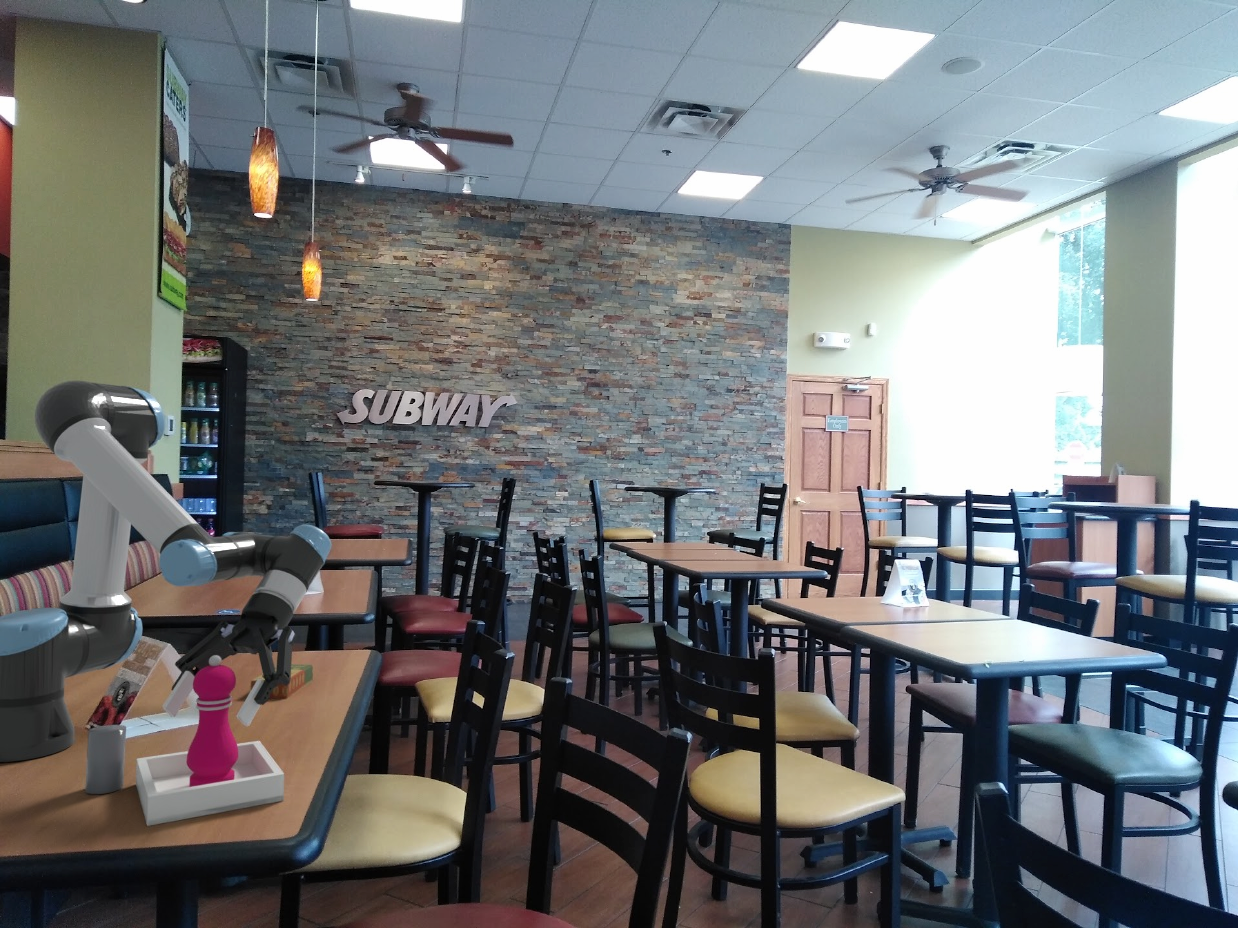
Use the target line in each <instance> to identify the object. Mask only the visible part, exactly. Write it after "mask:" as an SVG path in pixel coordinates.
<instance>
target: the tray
mask: <svg viewBox="0 0 1238 928" xmlns="http://www.w3.org/2000/svg"><path fill="white" fill-rule="evenodd" d="M237 746H238V759H237V761H236V763H235V764H234V765H233V766H232V768H231V769H233V770H234V772H235V777H234V780H229V781H223V782H217V783H211V784H205V785H199V786H193V787H189V784H190V776H191V775H192V774H193V772H192V771H191V770H190V769H189V767H188V766H187V762H186V761H187V754H188V750H186V751H180V752H173V753H167V754H165V753H164V754H159V755H158V754H157V755H154V756H153V755H152V756H145V757H140V758H136V768H135V769H136V771H135V772H136V773H135V787H136V790H137V793H138V797H139V801H140V804H141V805H140V806H141V809H142V813H143V816H144V820H145V823H146V826H147V827H150V826H155V825H159V824H166V823H170V822H172V823H173V822H176V821H181V820H187V819H192V818H197V817H203V816H207V815H213V814H219V813H224V812H229V811H236V810H241V809H245V808H250V807H256V806H261V805H266V804H273V803H277V802H283V801H284V800H285V799H284V797H285V795H284V794H285V773H284V771H283V770H282V769H281V767H280V766H279V765H278V764H277V762H276V761H275V760H274V758H273V757H272V756H271V754H270V753H269V752H268V750H267V749H266V747H265V746H264V744H262V742H261V741H260V740H256V741H255V740H254V741H247V742H241V743H237Z"/></svg>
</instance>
